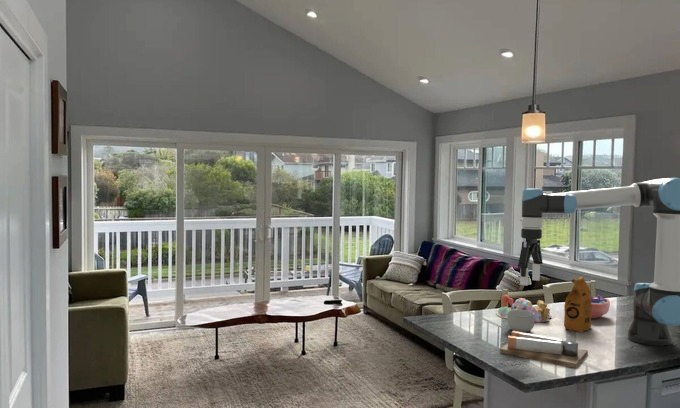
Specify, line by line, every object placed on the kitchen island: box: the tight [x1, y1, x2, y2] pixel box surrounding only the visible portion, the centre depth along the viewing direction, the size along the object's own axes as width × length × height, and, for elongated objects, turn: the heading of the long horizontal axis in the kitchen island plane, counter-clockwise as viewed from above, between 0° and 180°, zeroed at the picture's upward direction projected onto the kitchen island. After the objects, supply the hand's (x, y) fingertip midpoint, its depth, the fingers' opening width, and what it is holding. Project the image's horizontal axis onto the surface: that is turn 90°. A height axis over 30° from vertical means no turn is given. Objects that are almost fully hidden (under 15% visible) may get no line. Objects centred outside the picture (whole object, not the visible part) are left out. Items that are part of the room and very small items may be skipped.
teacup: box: [507, 309, 535, 333], centre depth 218 cm, size 14×11×8 cm
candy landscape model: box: [495, 294, 552, 323], centre depth 241 cm, size 25×24×9 cm
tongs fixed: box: [510, 330, 579, 357], centre depth 188 cm, size 24×5×4 cm, turn 53°
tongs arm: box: [507, 335, 561, 355], centre depth 186 cm, size 18×2×4 cm, turn 67°
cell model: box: [591, 295, 611, 319], centre depth 241 cm, size 17×20×11 cm
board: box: [499, 342, 589, 369], centre depth 188 cm, size 26×18×2 cm
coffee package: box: [563, 276, 592, 333], centre depth 221 cm, size 10×12×22 cm
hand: (530, 282), depth 199 cm, fingers open, 13 cm apart
